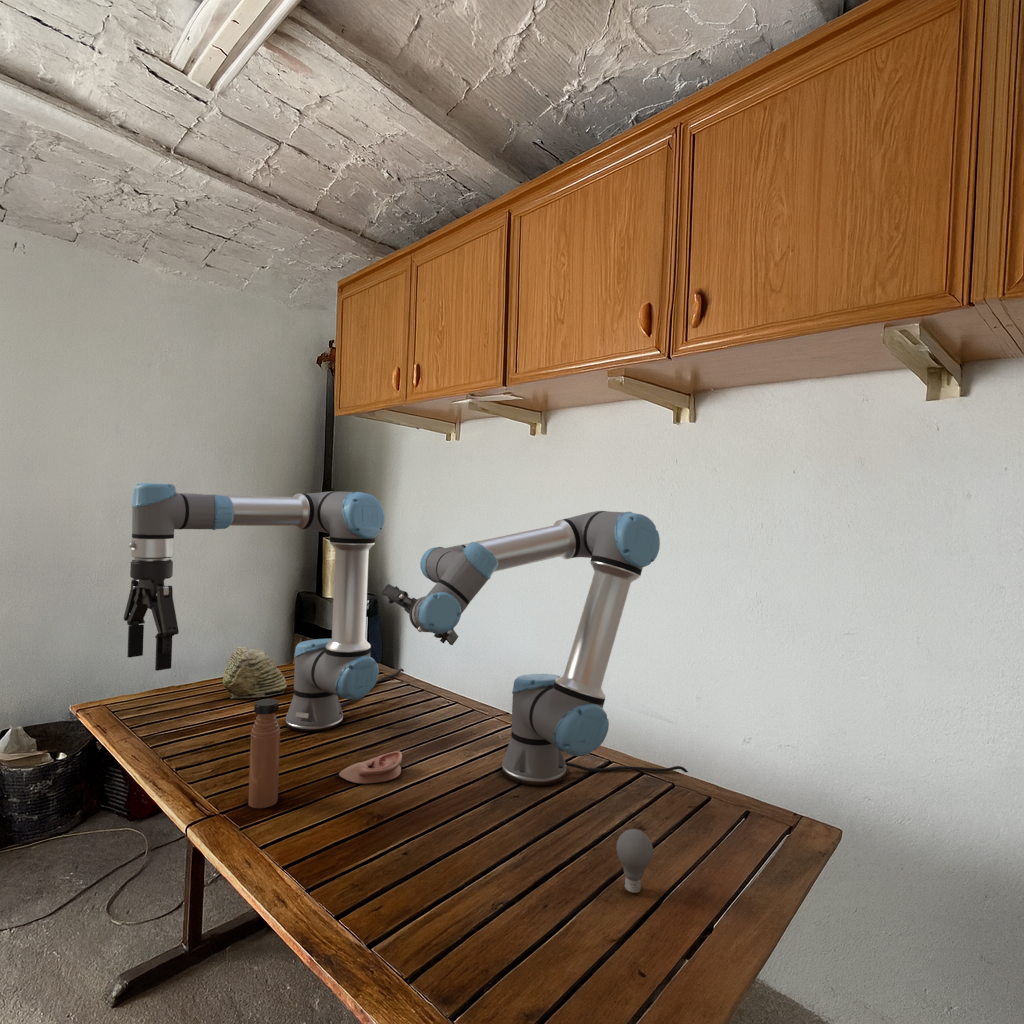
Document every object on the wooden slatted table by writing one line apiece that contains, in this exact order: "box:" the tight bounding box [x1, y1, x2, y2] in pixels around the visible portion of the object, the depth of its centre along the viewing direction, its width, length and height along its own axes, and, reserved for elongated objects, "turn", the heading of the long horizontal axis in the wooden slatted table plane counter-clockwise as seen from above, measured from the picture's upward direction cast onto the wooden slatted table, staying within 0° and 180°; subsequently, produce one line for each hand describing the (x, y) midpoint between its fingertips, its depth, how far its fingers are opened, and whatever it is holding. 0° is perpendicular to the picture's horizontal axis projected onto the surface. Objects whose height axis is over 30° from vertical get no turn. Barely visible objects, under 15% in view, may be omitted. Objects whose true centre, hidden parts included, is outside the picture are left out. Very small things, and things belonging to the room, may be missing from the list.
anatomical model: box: [338, 750, 403, 784], centre depth 146 cm, size 13×4×12 cm
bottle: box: [247, 712, 281, 809], centre depth 130 cm, size 6×6×20 cm
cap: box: [253, 698, 280, 715], centre depth 130 cm, size 5×5×2 cm
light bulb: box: [615, 828, 654, 894], centre depth 106 cm, size 6×6×10 cm
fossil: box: [222, 646, 288, 699], centre depth 198 cm, size 9×18×15 cm, turn 132°
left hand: (148, 662), depth 129 cm, fingers open, 13 cm apart
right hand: (415, 615), depth 151 cm, fingers open, 13 cm apart
